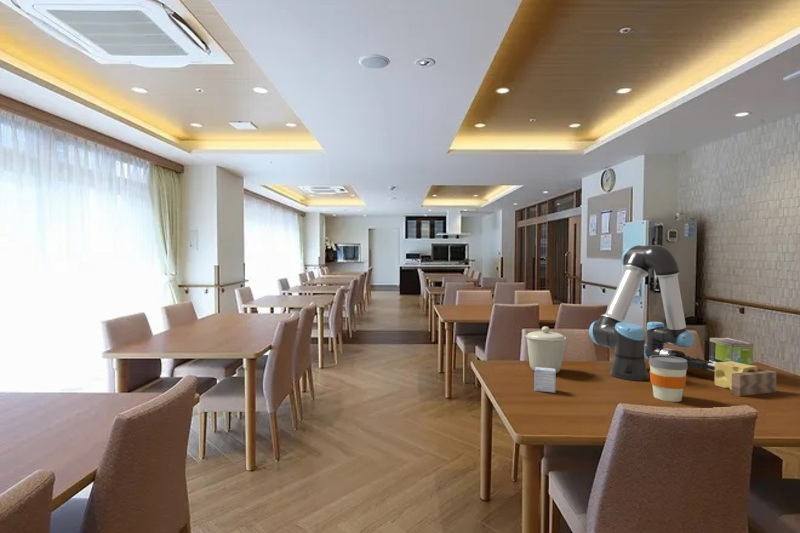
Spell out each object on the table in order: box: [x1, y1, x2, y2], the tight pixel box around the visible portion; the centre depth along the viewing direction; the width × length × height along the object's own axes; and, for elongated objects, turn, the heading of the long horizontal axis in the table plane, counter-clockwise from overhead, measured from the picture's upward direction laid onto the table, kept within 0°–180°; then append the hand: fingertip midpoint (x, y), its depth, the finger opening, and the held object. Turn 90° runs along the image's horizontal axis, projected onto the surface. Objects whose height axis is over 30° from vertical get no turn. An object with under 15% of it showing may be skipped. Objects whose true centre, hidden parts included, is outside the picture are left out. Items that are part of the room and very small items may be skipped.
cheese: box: [714, 361, 759, 391], centre depth 172 cm, size 10×11×10 cm
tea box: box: [708, 337, 754, 366], centre depth 199 cm, size 15×10×15 cm, turn 179°
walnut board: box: [731, 369, 777, 397], centre depth 166 cm, size 20×3×8 cm, turn 106°
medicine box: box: [534, 367, 557, 393], centre depth 167 cm, size 8×4×9 cm, turn 71°
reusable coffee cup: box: [648, 355, 689, 403], centre depth 159 cm, size 13×13×15 cm
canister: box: [525, 326, 567, 374], centre depth 196 cm, size 18×18×21 cm
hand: (724, 370), depth 178 cm, fingers closed
